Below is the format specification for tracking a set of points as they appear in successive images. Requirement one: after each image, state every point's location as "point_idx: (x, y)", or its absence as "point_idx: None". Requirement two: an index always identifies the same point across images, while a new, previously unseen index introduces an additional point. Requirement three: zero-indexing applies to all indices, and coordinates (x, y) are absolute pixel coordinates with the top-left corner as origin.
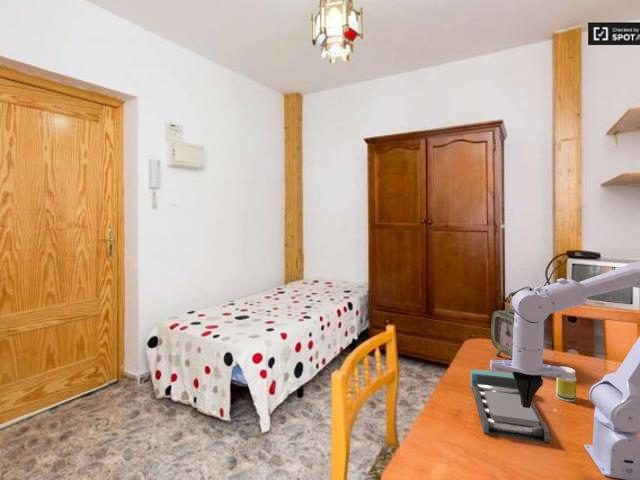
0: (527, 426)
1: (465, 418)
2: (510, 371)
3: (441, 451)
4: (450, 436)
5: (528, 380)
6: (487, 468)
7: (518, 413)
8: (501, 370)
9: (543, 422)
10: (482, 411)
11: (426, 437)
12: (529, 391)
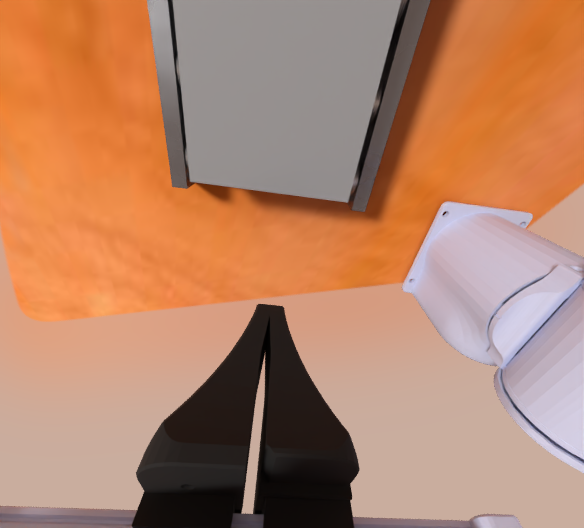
0: None
1: (124, 82)
2: (120, 524)
3: (92, 261)
4: (97, 204)
5: (258, 473)
6: (189, 294)
7: (294, 156)
8: (44, 523)
9: (380, 154)
10: (166, 101)
11: (38, 217)
12: (262, 421)
